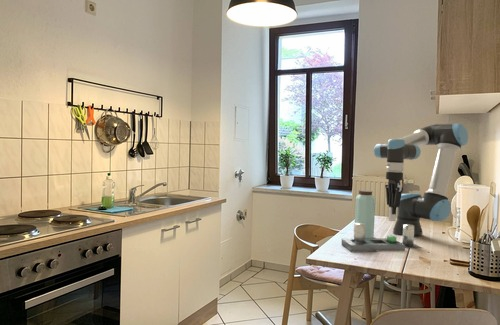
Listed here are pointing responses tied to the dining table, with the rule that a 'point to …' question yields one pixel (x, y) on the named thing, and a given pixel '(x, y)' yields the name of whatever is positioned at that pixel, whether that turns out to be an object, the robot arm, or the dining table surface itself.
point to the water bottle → (365, 211)
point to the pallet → (372, 245)
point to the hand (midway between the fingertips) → (392, 220)
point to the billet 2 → (408, 235)
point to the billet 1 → (359, 233)
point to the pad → (414, 246)
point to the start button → (391, 238)
